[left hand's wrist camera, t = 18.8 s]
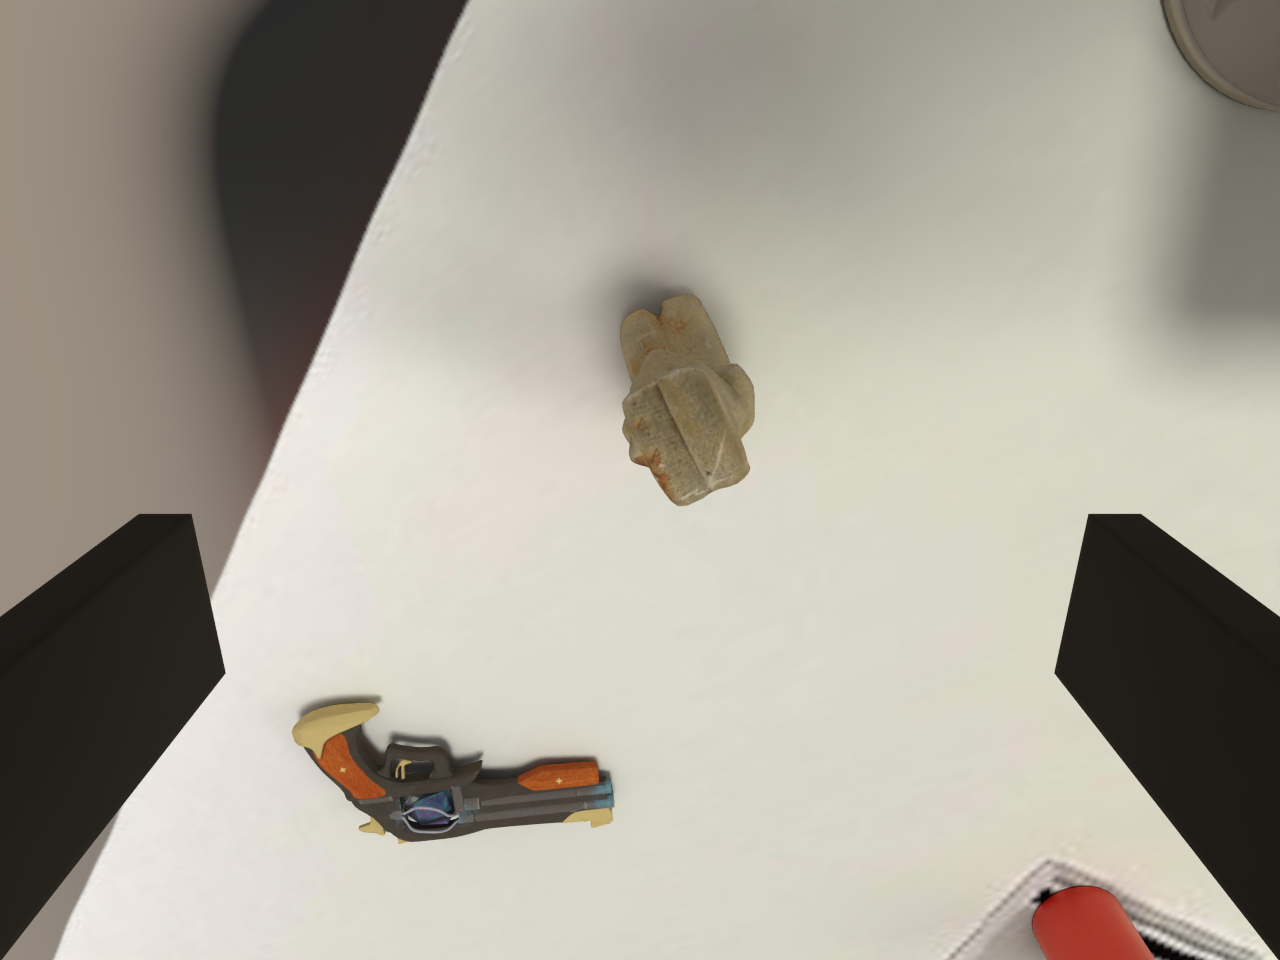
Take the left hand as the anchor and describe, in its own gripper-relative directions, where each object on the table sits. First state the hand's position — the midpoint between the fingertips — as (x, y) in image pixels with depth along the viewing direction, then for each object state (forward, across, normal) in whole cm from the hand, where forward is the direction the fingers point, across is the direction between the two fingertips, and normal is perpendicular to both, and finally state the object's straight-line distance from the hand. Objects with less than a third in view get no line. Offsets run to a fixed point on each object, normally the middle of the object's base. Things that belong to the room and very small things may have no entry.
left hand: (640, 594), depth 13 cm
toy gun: (+33, -11, -30) cm, 46 cm away
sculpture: (+33, +2, -4) cm, 33 cm away
